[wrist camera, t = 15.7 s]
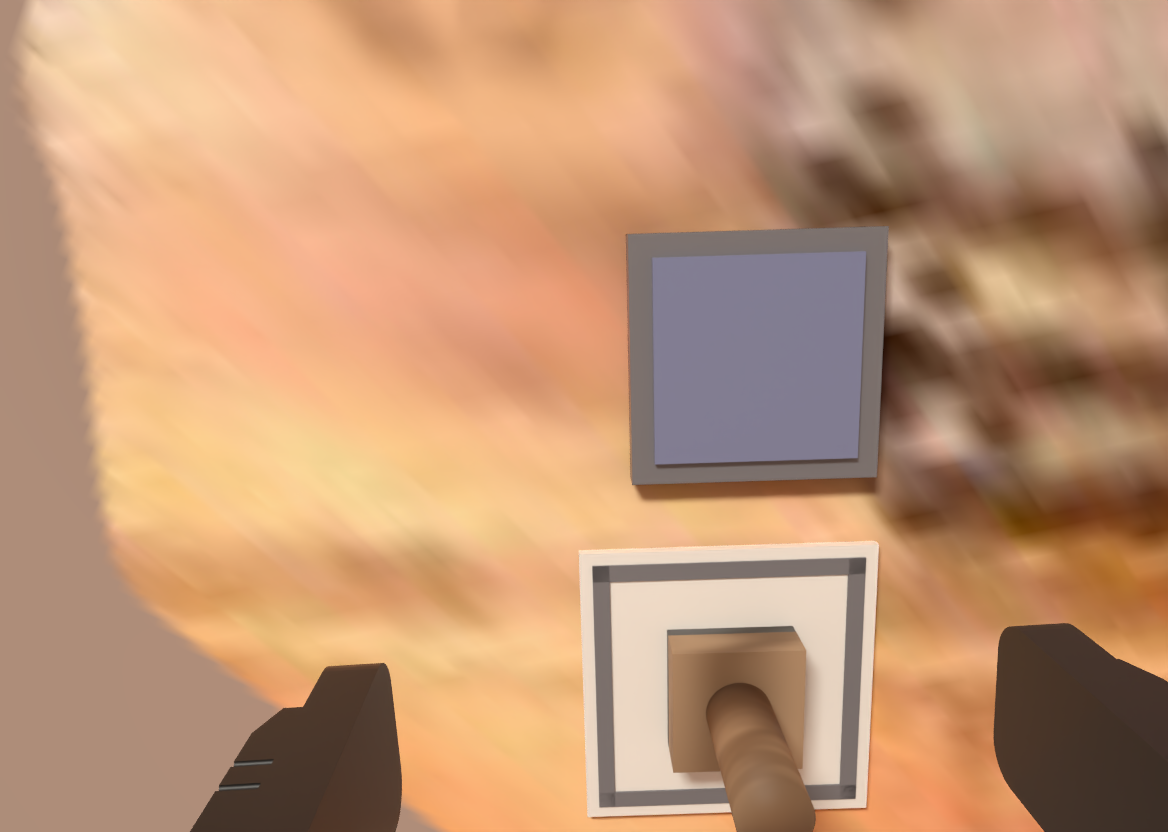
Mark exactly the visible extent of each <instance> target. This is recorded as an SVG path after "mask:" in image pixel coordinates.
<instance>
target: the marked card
mask: <svg viewBox="0 0 1168 832" xmlns="http://www.w3.org/2000/svg"><path fill="white" fill-rule="evenodd" d="M878 554H879V544H878V543H877V542H876V541H851V542H820V543H789V544H758V545H727V546H696V547H665V548H633V549H602V550H579V571H580V601H581V631H582V662H583V692H584V722H585V753H586V783H587V813H588V817H603V816H633V815H663V814H692V813H722V812H731V808H730V805H729V801H728V797H727V794H726V790H725V786H724V783H723V779H722V775H721V771H720V772H688V773H673V769H672V763H671V758H670V752H669V747H668V713H667V630H673V629H706V628H739V627H772V626H793V627H794V629H795V631H796V633H797V634H798V636H799V638H800V640H801V642H802V643H803V645H804V647H805V649H806V676H805V707H804V738H803V769H798V771H799V773H800V775H801V778H802V780H803V783H804V785H805V788H806V790H807V792H808V795H809V797H810V800H811V802H812V804H813V807H814V809H841V808H866V804H867V783H868V762H869V741H870V721H871V700H872V679H873V658H874V637H875V616H876V596H877V575H878Z"/></svg>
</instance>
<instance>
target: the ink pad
mask: <svg viewBox="0 0 1168 832" xmlns="http://www.w3.org/2000/svg"><path fill="white" fill-rule="evenodd" d="M888 228H889V226H878V227H845V228H812V229H780V230H747V231H714V232H681V233H648V234H626V260H627V314H628V367H629V421H630V475H631V481H632V485H645V484H676V483H707V482H739V481H770V480H802V479H833V478H864V477H877V464H878V442H879V421H880V399H881V378H882V356H883V335H884V313H885V292H886V271H887V249H888Z"/></svg>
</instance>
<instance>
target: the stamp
mask: <svg viewBox="0 0 1168 832" xmlns="http://www.w3.org/2000/svg"><path fill="white" fill-rule="evenodd" d="M805 676H806V649H805V647H804V645H803V643H802V642H801V640H800V638H799V636H798V634H797V633H796V631H795V629H794V627H793V626H772V627H739V628H706V629H673V630H667V713H668V747H669V752H670V758H671V763H672V769H673V773H688V772H720V771H721V775H722V779H723V783H724V786H725V790H726V794H727V797H728V801H729V805H730V808H731V812H732V816H733V820H734V823H735V827H736V831H737V832H813V829H814V826H815V821H816V815H815V810H814V807H813V804H812V802H811V800H810V797H809V795H808V792H807V790H806V788H805V785H804V783H803V780H802V778H801V775H800V773H799V771H798V769H803V738H804V707H805Z"/></svg>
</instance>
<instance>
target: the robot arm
mask: <svg viewBox="0 0 1168 832" xmlns="http://www.w3.org/2000/svg"><path fill="white" fill-rule="evenodd" d="M994 746H995V752H996V757H997V761H998V764H999V767H1000V770H1001V772H1002V775H1003V777H1004V779H1005V781H1006V782H1007V784H1008V786H1009V787H1010V789H1011V790H1012V791H1013V792H1014V794H1015V795H1016V796H1017V797H1018V799H1019V800H1020V801H1021V803H1022V804H1023V805H1024V806H1025V808H1026V809H1027V810H1028V811H1029V813H1030V814H1031V815H1032V816H1033V818H1034V819H1035V820H1036V821H1037V823H1038V824H1039V825H1040V827H1041V828H1042V829H1043V830H1044V832H1168V682H1167V681H1165V680H1164V679H1162V678H1160V677H1158V676H1155V675H1153V674H1151V673H1149V672H1147V671H1144V670H1142V669H1140V668H1138V667H1136V666H1133V665H1131V664H1129V663H1127V662H1125V661H1123V660H1120V659H1116V658H1114V657H1113V656H1112V655H1111V654H1109V653H1108V652H1107V651H1105V650H1104V649H1103V648H1102V647H1100V646H1099V645H1098V644H1096V643H1095V642H1094V641H1093V640H1091V639H1090V638H1089V637H1088V636H1086V635H1085V634H1084V633H1082V632H1081V631H1080V630H1079V629H1077V628H1076V627H1074V626H1073V625H1071V624H1068V623H1061V624H1045V625H1028V626H1012V627H1007V628H1006V629H1005V630H1004V631H1003V632H1002V634H1001V637H1000V640H999V646H998V662H997V681H996V699H995V717H994ZM401 795H402V775H401V764H400V755H399V746H398V738H397V729H396V721H395V712H394V703H393V695H392V686H391V679H390V674H389V670H388V668H387V666H386V664H384V663H376V664H360V665H343V666H328V667H326V668H325V669H324V671H323V672H322V674H321V676H320V678H319V679H318V681H317V683H316V685H315V687H314V688H313V690H312V692H311V694H310V696H309V697H308V699H307V701H306V703H305V705H304V706H303V707H296V708H283V709H282V710H281V711H279V712H278V713H277V714H276V715H274V716H273V717H272V718H270V719H269V720H268V721H267V722H265V723H264V724H263V725H262V726H260V727H259V728H258V729H257V730H255V731H254V732H253V733H252V734H251V736H250V737H249V739H248V740H247V742H246V743H245V745H244V747H243V748H242V750H241V751H240V753H239V755H238V756H237V758H236V759H235V761H234V767H230V769H229V770H228V772H227V774H226V775H225V777H224V778H223V780H222V782H221V783H220V785H219V791H215V793H214V794H213V796H212V798H211V799H210V801H209V802H208V804H207V805H206V807H205V809H204V810H203V812H202V813H201V815H200V817H199V818H198V820H197V821H196V823H195V825H194V826H193V828H192V829H191V831H190V832H395V831H396V828H397V824H398V820H399V815H400V808H401Z"/></svg>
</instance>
